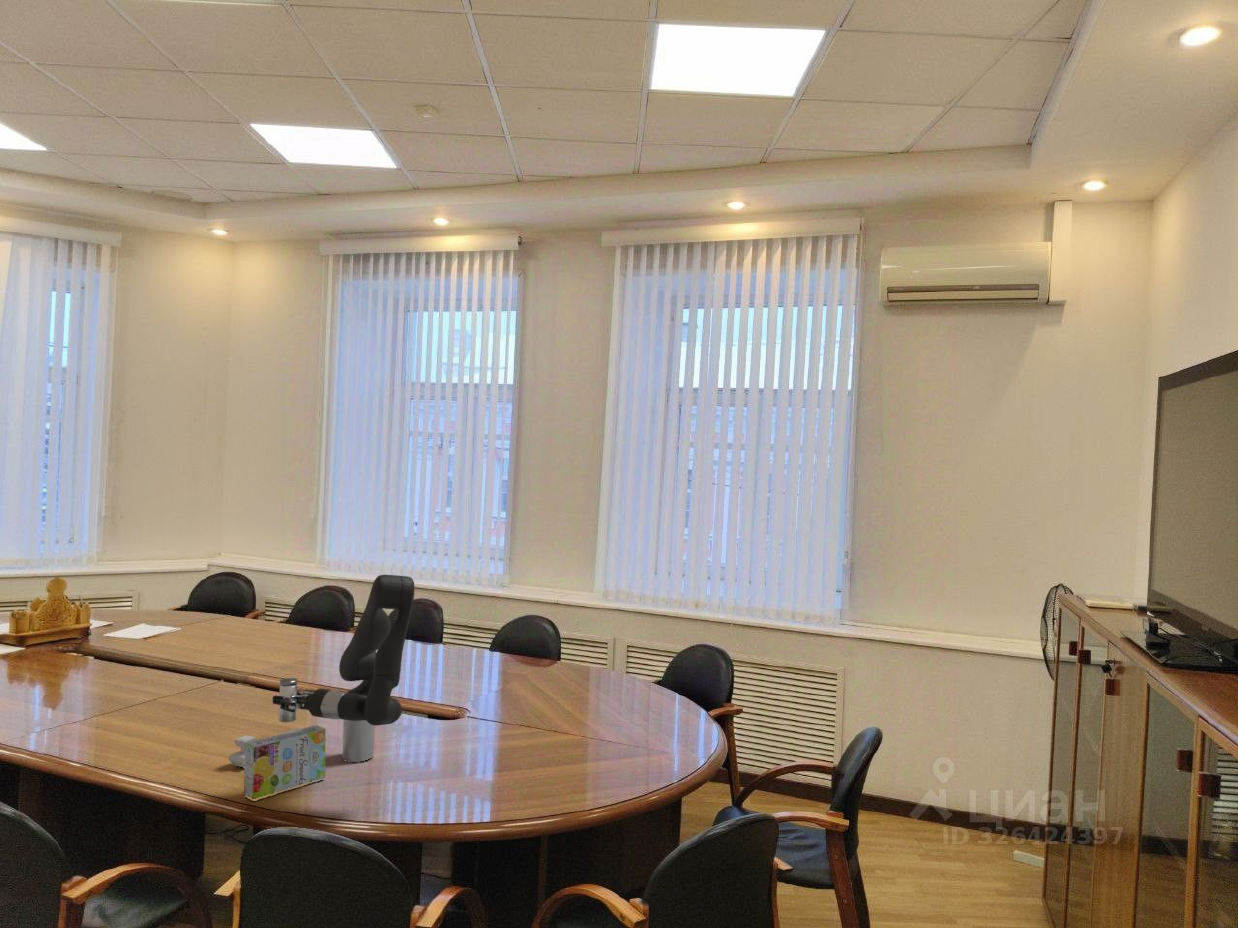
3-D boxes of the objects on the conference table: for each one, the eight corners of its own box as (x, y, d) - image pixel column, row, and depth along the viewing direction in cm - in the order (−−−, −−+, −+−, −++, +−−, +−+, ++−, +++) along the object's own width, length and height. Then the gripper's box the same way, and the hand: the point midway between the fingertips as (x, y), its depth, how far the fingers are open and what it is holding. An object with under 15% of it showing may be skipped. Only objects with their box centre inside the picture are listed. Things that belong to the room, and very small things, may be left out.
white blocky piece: (265, 764, 245) (266, 736, 244) (246, 772, 238) (247, 743, 238) (243, 759, 248) (244, 731, 248) (224, 766, 242) (225, 738, 242)
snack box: (315, 775, 238) (316, 723, 238) (325, 780, 234) (327, 728, 234) (242, 797, 222) (244, 741, 222) (252, 803, 218) (254, 746, 218)
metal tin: (282, 717, 230) (283, 677, 230) (298, 717, 230) (299, 678, 230) (276, 722, 225) (277, 682, 225) (293, 722, 226) (294, 682, 226)
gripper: (348, 683, 230) (297, 677, 236) (314, 697, 217) (261, 690, 222) (347, 710, 230) (297, 703, 235) (313, 725, 217) (260, 717, 222)
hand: (280, 697), depth 229 cm, fingers closed on metal tin, 4 cm apart
